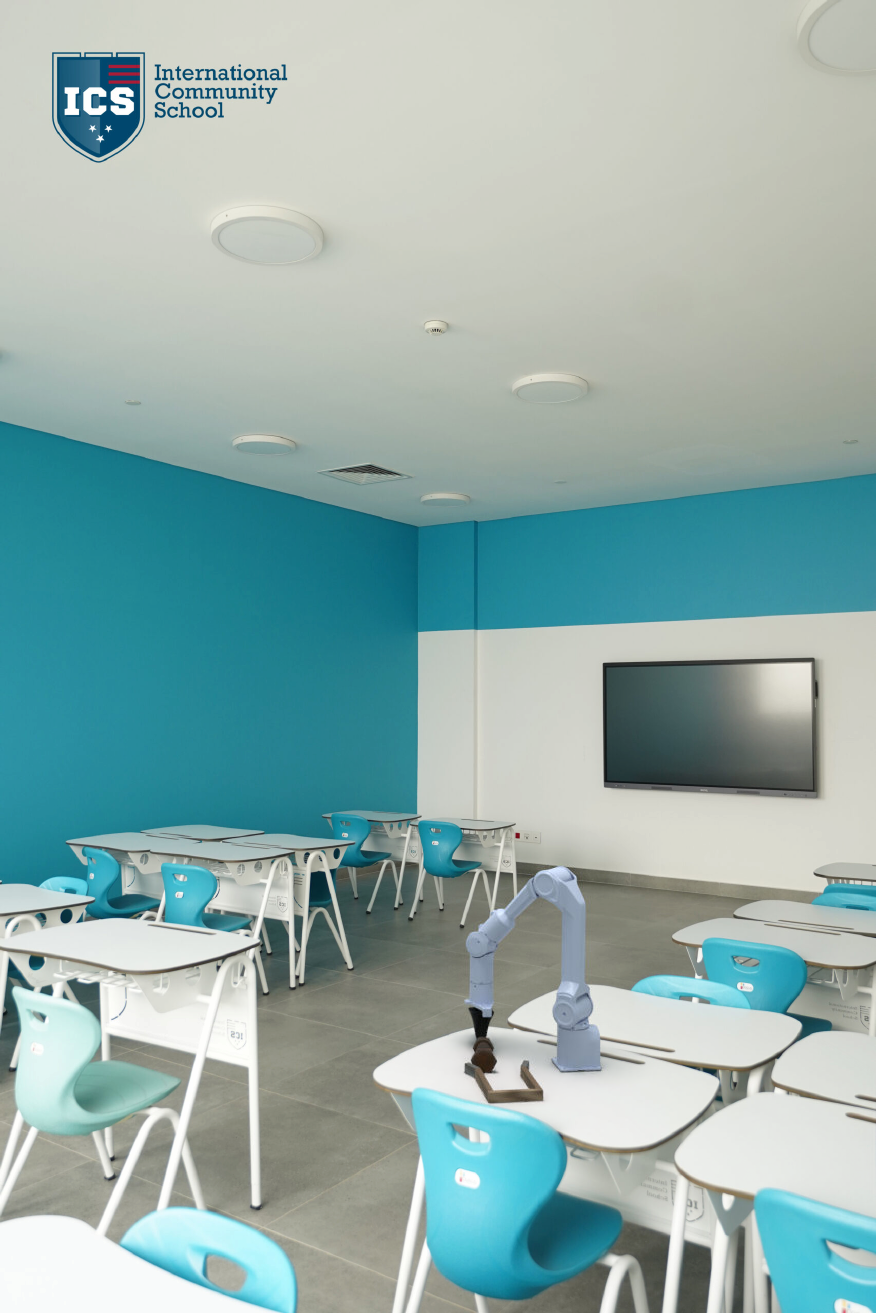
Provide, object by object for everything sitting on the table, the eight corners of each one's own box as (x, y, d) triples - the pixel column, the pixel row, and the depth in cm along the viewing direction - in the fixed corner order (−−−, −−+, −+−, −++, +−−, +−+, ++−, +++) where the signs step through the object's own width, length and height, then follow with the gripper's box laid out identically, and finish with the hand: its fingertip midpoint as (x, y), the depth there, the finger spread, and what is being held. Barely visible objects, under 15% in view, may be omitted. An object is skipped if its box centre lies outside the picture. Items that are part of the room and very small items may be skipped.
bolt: (485, 1058, 224) (487, 1079, 210) (467, 1047, 225) (467, 1067, 210) (498, 1037, 225) (500, 1056, 210) (480, 1025, 225) (480, 1044, 210)
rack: (528, 1069, 213) (528, 1059, 213) (550, 1100, 195) (551, 1089, 195) (464, 1071, 210) (464, 1062, 210) (480, 1103, 193) (481, 1093, 193)
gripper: (459, 974, 236) (458, 1030, 235) (471, 989, 222) (470, 1049, 221) (487, 973, 237) (486, 1029, 236) (500, 989, 223) (499, 1048, 222)
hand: (480, 1039), depth 228 cm, fingers closed
